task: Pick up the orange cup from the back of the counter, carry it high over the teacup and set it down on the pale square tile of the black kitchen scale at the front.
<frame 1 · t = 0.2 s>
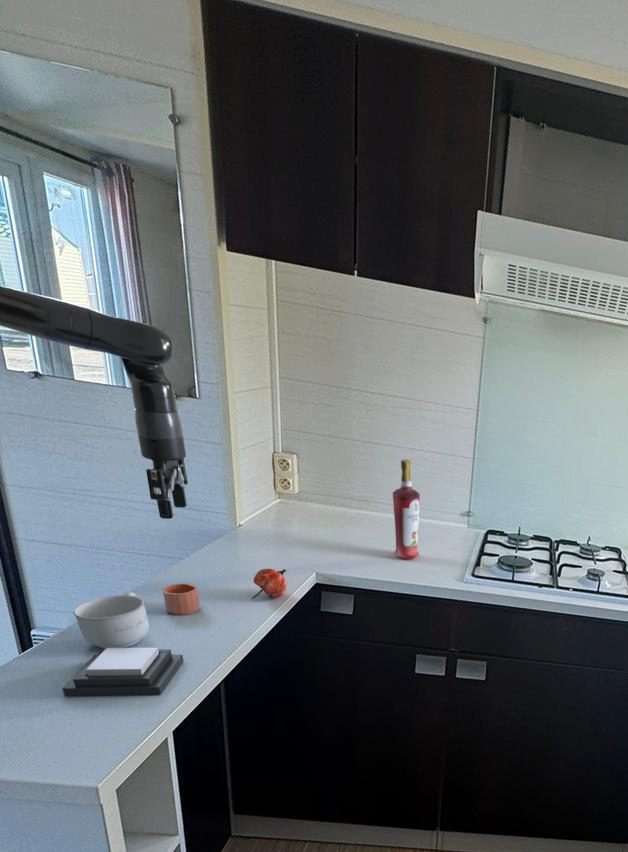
hand: (173, 512, 132), 20 cm above the table, tool pointing down, fingers open, 8 cm apart
teacup: (123, 639, 123), on the table
pomegranate: (270, 597, 149), on the table
pale square tile: (124, 662, 110), point 3 cm above the table, slide at 0.0 cm
liquor: (406, 557, 184), on the table
orange cup: (183, 609, 137), on the table
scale: (128, 678, 111), on the table
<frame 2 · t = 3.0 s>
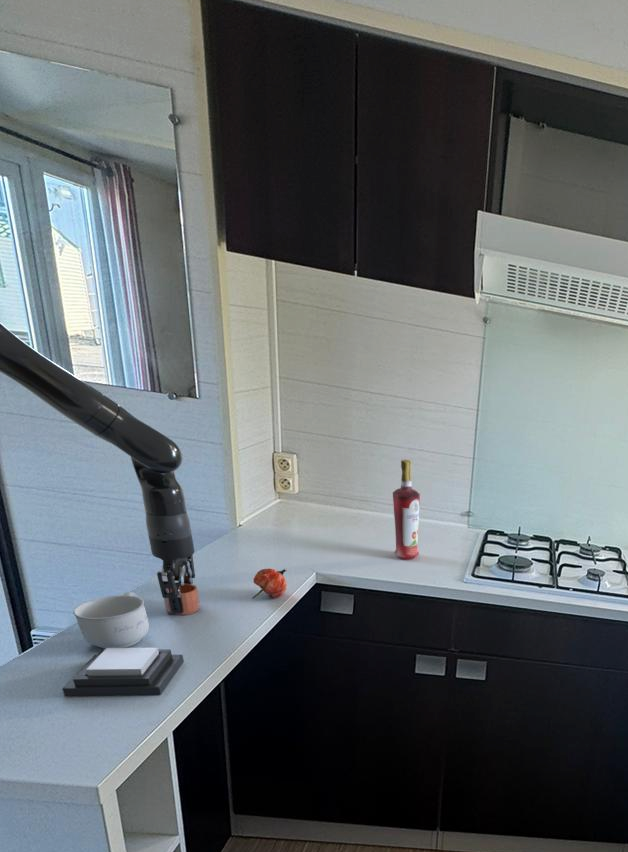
hand: (183, 606, 137), 1 cm above the table, tool pointing down, fingers closed on orange cup, 6 cm apart
orange cup: (183, 609, 137), on the table, touching gripper
everything else where it was.
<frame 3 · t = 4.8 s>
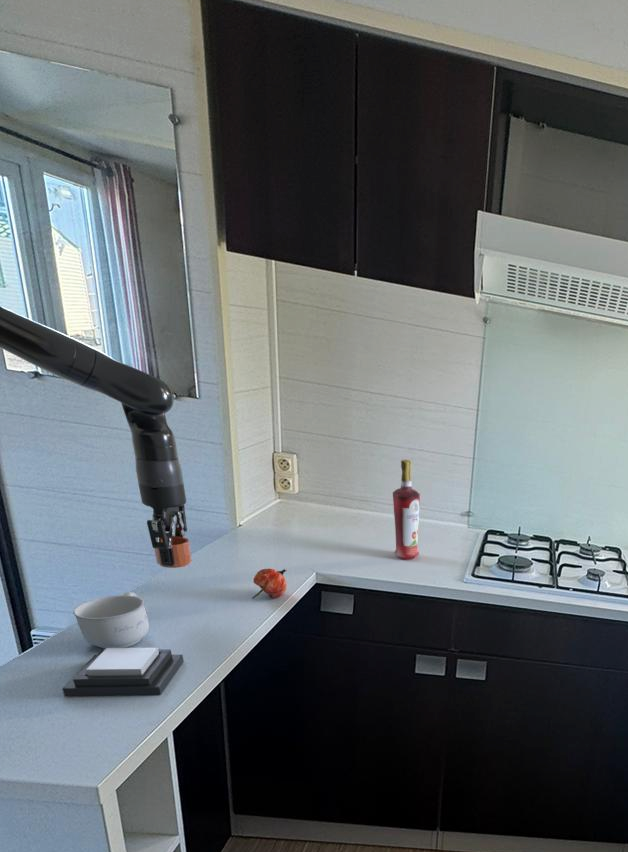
hand: (174, 559, 132), 12 cm above the table, tool pointing down, fingers closed on orange cup, 6 cm apart
orange cup: (174, 563, 133), point 11 cm above the table, touching gripper
everything else where it was.
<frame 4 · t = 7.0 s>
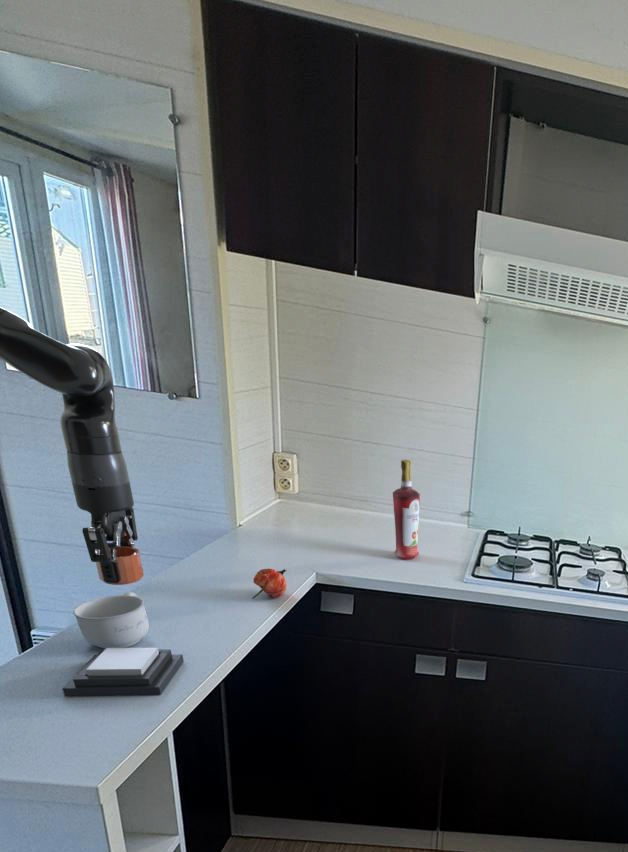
hand: (121, 574, 109), 17 cm above the table, tool pointing down, fingers closed on orange cup, 6 cm apart
orange cup: (122, 579, 109), point 17 cm above the table, touching gripper
everything else where it was.
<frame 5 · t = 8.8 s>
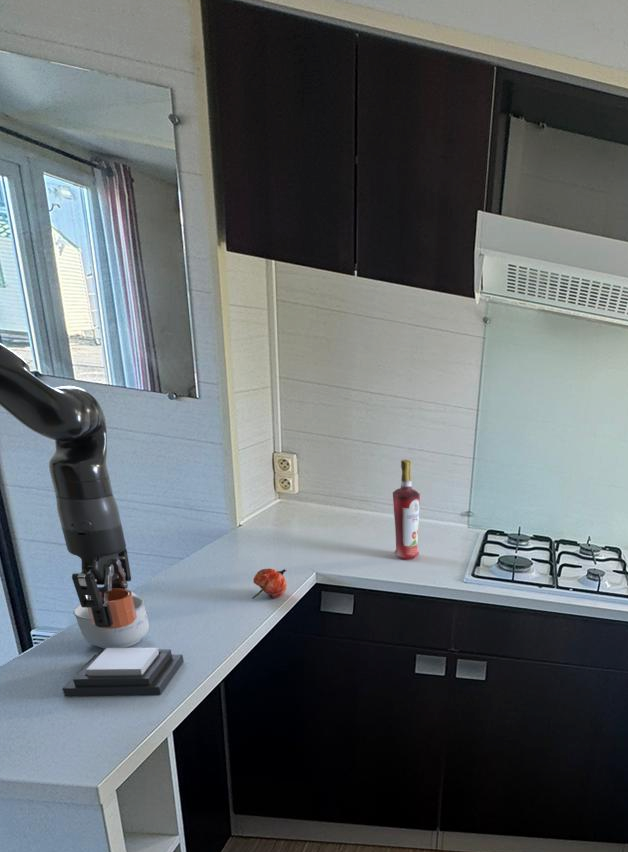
hand: (113, 617, 106), 12 cm above the table, tool pointing down, fingers closed on orange cup, 6 cm apart
orange cup: (115, 621, 107), point 11 cm above the table, touching gripper
everything else where it was.
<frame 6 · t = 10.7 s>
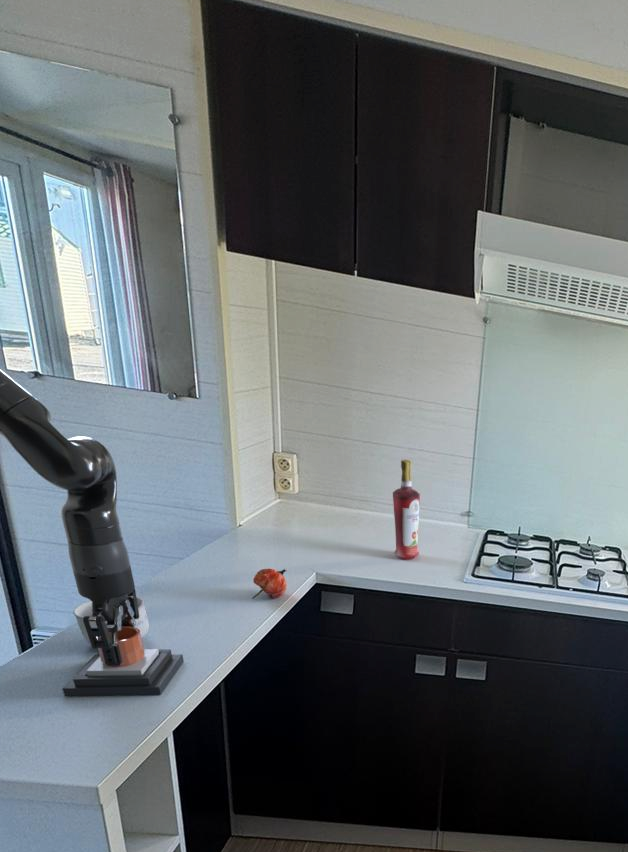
hand: (122, 654, 109), 5 cm above the table, tool pointing down, fingers closed on orange cup, 6 cm apart
pale square tile: (124, 663, 110), point 3 cm above the table, slide at -0.2 cm, touching orange cup
orange cup: (123, 659, 110), point 4 cm above the table, touching gripper, pale square tile
everything else where it was.
when the fingers open (5 cm above the table, at t = 11.0 s): orange cup stays where it is, resting on pale square tile.
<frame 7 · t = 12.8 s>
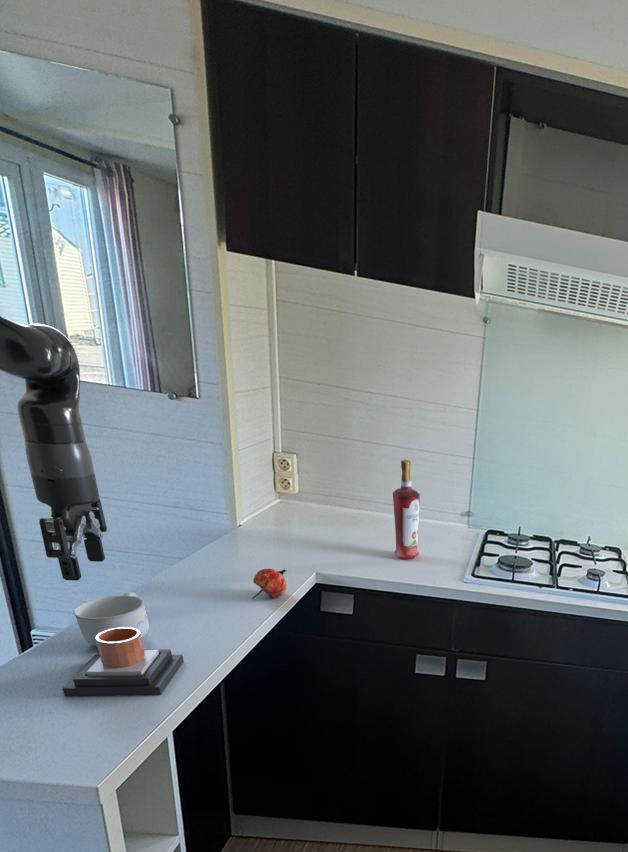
hand: (85, 569, 102), 21 cm above the table, tool pointing down, fingers open, 8 cm apart
orange cup: (124, 660, 110), point 4 cm above the table, touching pale square tile
everything else where it was.
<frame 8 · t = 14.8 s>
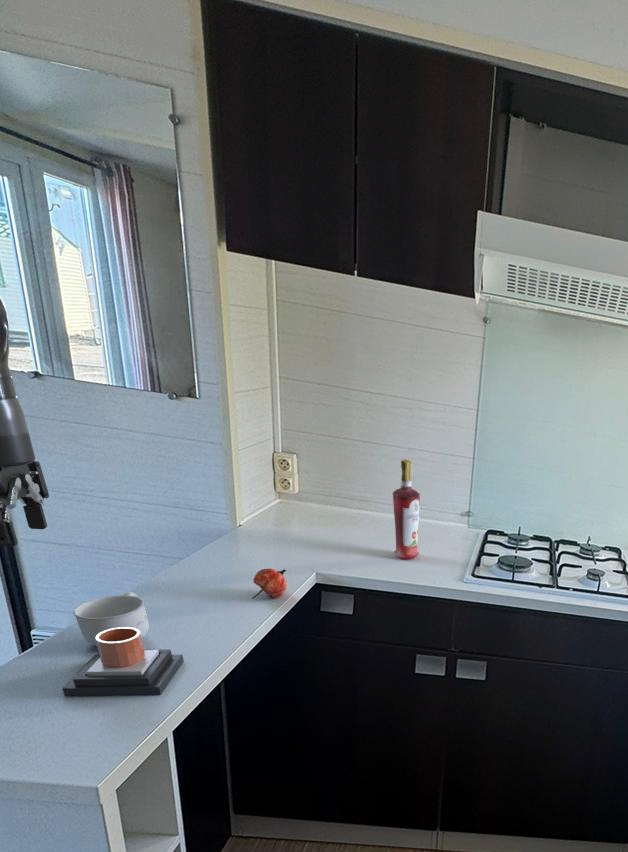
hand: (23, 536, 97), 26 cm above the table, tool pointing down, fingers open, 8 cm apart
nothing on the table moved.
at the end: orange cup inside the target area on the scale (0.0 cm from its centre), point 3.6 cm above the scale's base; orange cup tilted 0°; orange cup touching pale square tile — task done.
